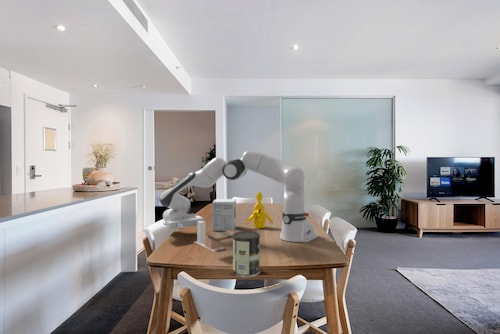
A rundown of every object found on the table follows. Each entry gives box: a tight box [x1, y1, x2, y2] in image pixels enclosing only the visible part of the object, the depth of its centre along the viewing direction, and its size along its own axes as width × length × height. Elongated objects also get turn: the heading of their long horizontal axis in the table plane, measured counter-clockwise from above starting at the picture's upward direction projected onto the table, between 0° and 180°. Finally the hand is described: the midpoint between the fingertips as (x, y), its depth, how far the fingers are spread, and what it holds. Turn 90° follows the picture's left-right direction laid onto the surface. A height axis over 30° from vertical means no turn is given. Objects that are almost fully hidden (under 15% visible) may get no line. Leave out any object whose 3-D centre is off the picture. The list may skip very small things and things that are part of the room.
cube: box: [204, 235, 221, 250], centre depth 127 cm, size 5×5×5 cm
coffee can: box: [232, 231, 261, 278], centre depth 102 cm, size 10×10×14 cm
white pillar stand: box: [193, 221, 225, 252], centre depth 130 cm, size 6×18×11 cm, turn 40°
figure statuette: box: [245, 191, 275, 229], centre depth 172 cm, size 18×8×22 cm, turn 96°
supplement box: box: [211, 198, 237, 232], centre depth 169 cm, size 13×13×18 cm
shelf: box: [207, 229, 243, 242], centre depth 120 cm, size 15×7×10 cm, turn 130°
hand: (192, 225), depth 141 cm, fingers open, 8 cm apart
